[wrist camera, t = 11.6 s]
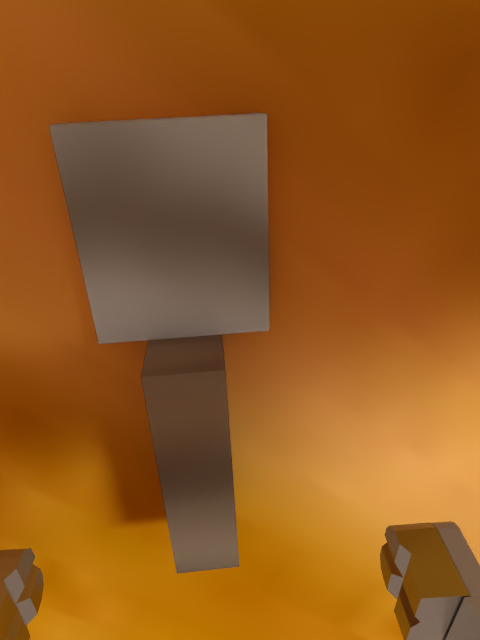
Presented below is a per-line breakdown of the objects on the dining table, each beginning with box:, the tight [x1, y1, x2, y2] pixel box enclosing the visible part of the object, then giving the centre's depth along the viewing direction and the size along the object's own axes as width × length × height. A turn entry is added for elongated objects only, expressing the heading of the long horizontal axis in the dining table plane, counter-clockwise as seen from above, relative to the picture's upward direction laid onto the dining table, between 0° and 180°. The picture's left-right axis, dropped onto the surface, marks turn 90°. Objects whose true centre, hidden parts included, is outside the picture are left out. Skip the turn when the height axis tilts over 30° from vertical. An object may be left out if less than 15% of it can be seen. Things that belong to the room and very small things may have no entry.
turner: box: [49, 113, 270, 573], centre depth 16 cm, size 17×6×3 cm, turn 2°
